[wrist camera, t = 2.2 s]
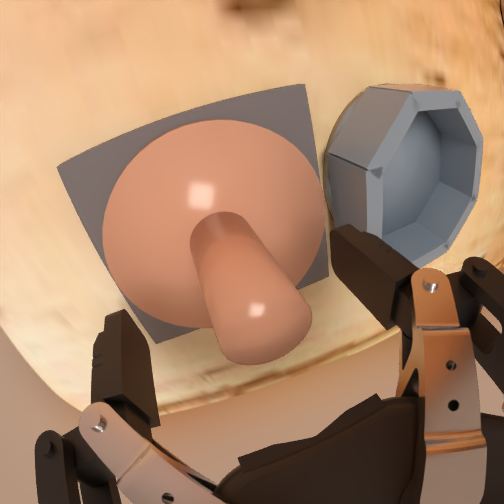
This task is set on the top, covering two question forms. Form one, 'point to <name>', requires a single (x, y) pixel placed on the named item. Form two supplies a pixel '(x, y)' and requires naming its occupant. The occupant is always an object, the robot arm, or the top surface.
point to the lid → (218, 234)
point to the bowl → (405, 167)
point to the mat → (128, 145)
